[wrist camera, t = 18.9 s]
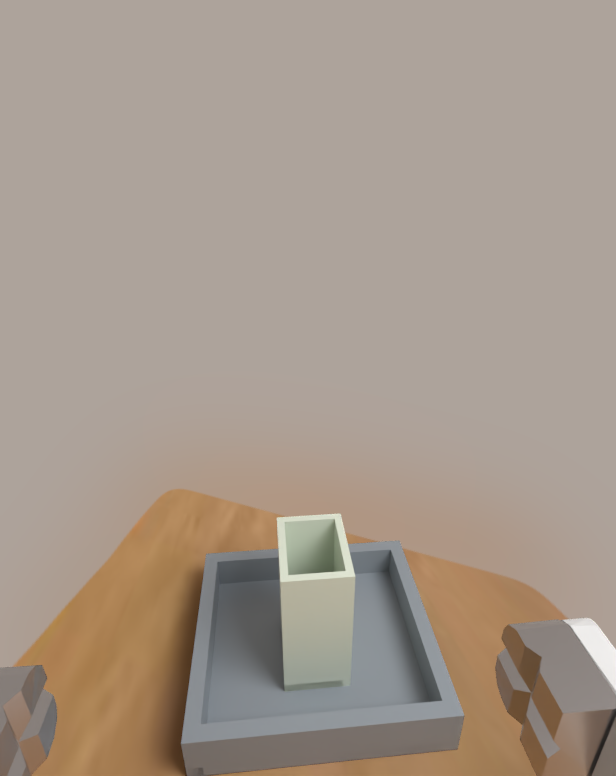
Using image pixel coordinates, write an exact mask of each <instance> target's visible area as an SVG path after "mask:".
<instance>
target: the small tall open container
mask: <svg viewBox="0 0 616 776" xmlns="http://www.w3.org/2000/svg"><path fill="white" fill-rule="evenodd" d="M277 533H278V558H279V583H280V609H281V631H282V651H283V670H284V690H285V692H287V691H298V690H308V689H319V688H330V687H340V686H350V679H351V658H352V637H353V616H354V595H355V573H354V568H353V564H352V560H351V556H350V552H349V547H348V543H347V539H346V535H345V530H344V526H343V523H342V518H341V514H326V515H311V516H297V517H280V518H277Z"/></svg>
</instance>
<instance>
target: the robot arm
mask: <svg viewBox="0 0 616 776" xmlns="http://www.w3.org/2000/svg"><path fill="white" fill-rule="evenodd" d="M501 639H502V641H503V643H504V645H505V647H506V648H505V649H504V650H503V651H502V652H501V653H500V654H499V655H498V656H497V662H496V667H495V670H496V678H497V685H498V689H499V692H500V695H501V698H502V701H503V703H504V705H505V707H506V710H507V712H508V713H509V714H510V715H511V716H512V717H513V718H515V719H516V720H517V721H518V722H519V723H521V724H522V730H521V736H520V741H521V743H522V745H523V747H524V749H525V752H526V754H527V756H528V758H529V760H530V763H531V765H532V767H533V769H534V771H535V773H536V776H616V649H615V648H614V647H613V645H612V644H611V643H610V641H609V640H608V639H607V637H606V636H605V635H604V633H603V632H602V630H601V629H600V628H599V626H598V625H597V624H596V623H595V622H594V621H592V620H591V619H590V618H578V619H568V620H548V621H538V622H529V623H519V624H509V625H507V626H506V627H505V628H504V630H503V634H502V638H501ZM46 680H47V676H46V674H45V671H44V669H43V667H42V665H36V666H20V667H5V668H0V776H32V774H33V773H34V772H35V771H36V770H37V768H38V767H39V766H40V765H41V764H42V763H43V762H44V761H45V760H46V759H47V757H48V754H49V751H50V748H51V745H52V742H53V739H54V734H55V728H56V722H57V709H56V702H55V699H54V696H53V695H52V694H51V693H49V692H47V691H46V690H44V689H43V687H44V685H45V682H46Z"/></svg>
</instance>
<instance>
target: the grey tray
mask: <svg viewBox="0 0 616 776" xmlns="http://www.w3.org/2000/svg"><path fill="white" fill-rule="evenodd" d="M348 547H349V552H350V556H351V560H352V564H353V568H354V573H355V595H354V616H353V637H352V658H351V679H350V686H340V687H330V688H319V689H308V690H298V691H287V692H285V690H284V670H283V651H282V631H281V609H280V583H279V558H278V549H270V550H255V551H241V552H226V553H212V554H206V560H205V568H204V575H203V583H202V590H201V597H200V605H199V612H198V620H197V627H196V635H195V642H194V650H193V657H192V665H191V672H190V680H189V687H188V695H187V702H186V710H185V717H184V725H183V732H182V740H181V747H182V752H183V758H184V763H185V768H186V774H187V776H207V775H216V774H226V773H235V772H245V771H254V770H264V769H273V768H283V767H292V766H302V765H311V764H321V763H330V762H340V761H349V760H359V759H369V758H378V757H388V756H397V755H407V754H416V753H426V752H435V751H445V750H454V749H458V745H459V740H460V735H461V730H462V725H463V720H464V713H463V711H462V708H461V705H460V703H459V700H458V697H457V694H456V692H455V689H454V686H453V684H452V681H451V678H450V676H449V673H448V670H447V668H446V665H445V662H444V660H443V657H442V654H441V651H440V649H439V646H438V643H437V641H436V638H435V635H434V633H433V630H432V627H431V625H430V622H429V619H428V616H427V614H426V611H425V608H424V606H423V603H422V600H421V598H420V595H419V592H418V590H417V587H416V584H415V582H414V579H413V576H412V573H411V571H410V568H409V565H408V563H407V560H406V557H405V555H404V552H403V549H402V547H401V544H400V541H386V542H371V543H357V544H348Z"/></svg>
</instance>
